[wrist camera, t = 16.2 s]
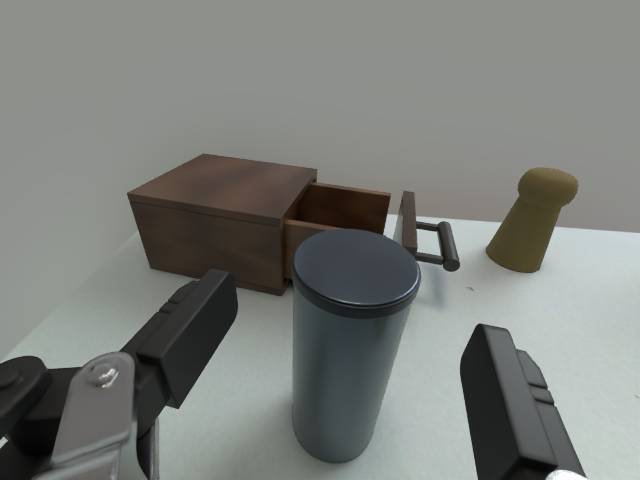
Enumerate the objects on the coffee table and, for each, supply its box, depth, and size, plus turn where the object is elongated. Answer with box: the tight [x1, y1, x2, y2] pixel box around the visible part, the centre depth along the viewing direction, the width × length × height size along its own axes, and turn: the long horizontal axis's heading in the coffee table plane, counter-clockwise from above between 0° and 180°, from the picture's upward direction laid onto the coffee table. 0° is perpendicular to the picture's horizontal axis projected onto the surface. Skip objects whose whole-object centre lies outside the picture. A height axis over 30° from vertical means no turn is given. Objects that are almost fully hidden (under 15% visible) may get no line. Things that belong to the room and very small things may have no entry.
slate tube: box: [291, 229, 421, 463], centre depth 17 cm, size 6×6×13 cm
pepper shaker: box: [486, 168, 578, 273], centre depth 35 cm, size 6×6×11 cm
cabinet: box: [127, 154, 317, 296], centre depth 34 cm, size 15×13×9 cm
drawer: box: [283, 182, 460, 280], centre depth 31 cm, size 18×11×7 cm, turn 76°
